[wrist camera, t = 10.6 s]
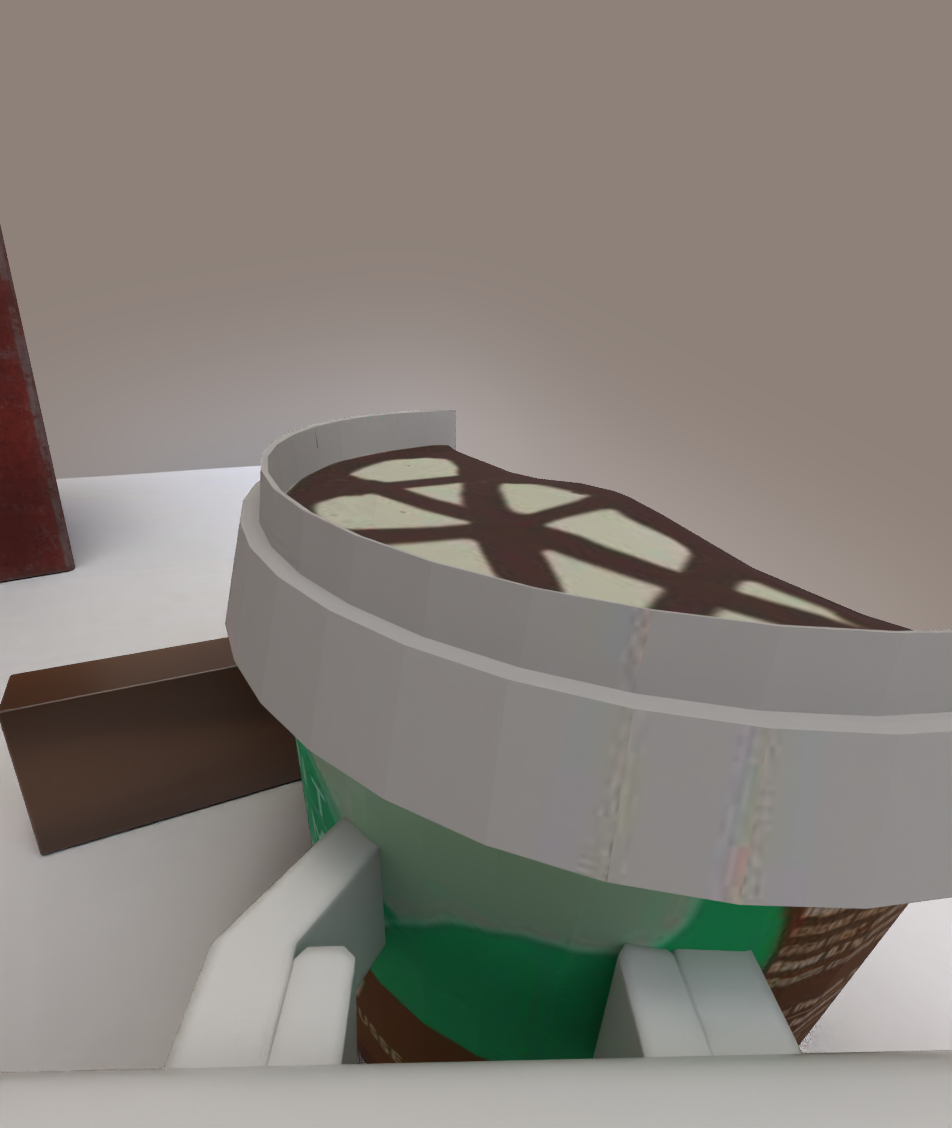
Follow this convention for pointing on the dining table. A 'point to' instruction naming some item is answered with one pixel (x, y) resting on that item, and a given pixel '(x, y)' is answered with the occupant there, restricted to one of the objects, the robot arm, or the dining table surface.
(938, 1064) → the robot arm
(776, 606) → the food container
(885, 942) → the dining table surface
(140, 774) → the corner guide
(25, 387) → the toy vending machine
